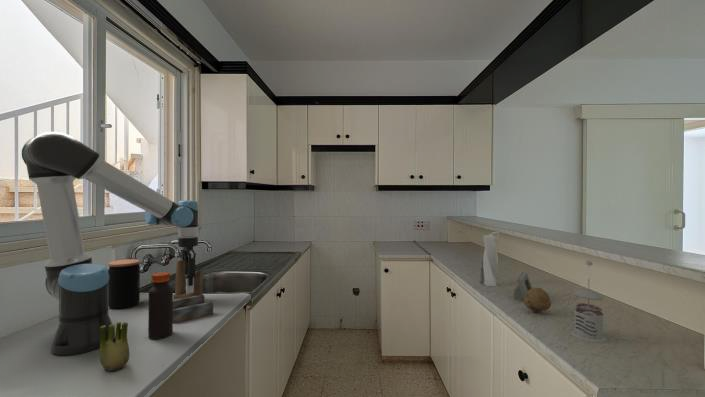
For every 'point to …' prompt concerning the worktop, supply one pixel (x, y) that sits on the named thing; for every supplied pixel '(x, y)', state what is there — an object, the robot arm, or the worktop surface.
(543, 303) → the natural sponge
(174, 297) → the brown upright wooden piece
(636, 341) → the worktop surface
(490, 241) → the skyscraper
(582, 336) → the french press
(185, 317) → the metal-railed wooden board
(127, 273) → the coffee jar
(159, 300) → the bottle
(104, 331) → the fennel bulb
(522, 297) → the digital clock
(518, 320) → the worktop surface
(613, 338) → the worktop surface
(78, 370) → the worktop surface
